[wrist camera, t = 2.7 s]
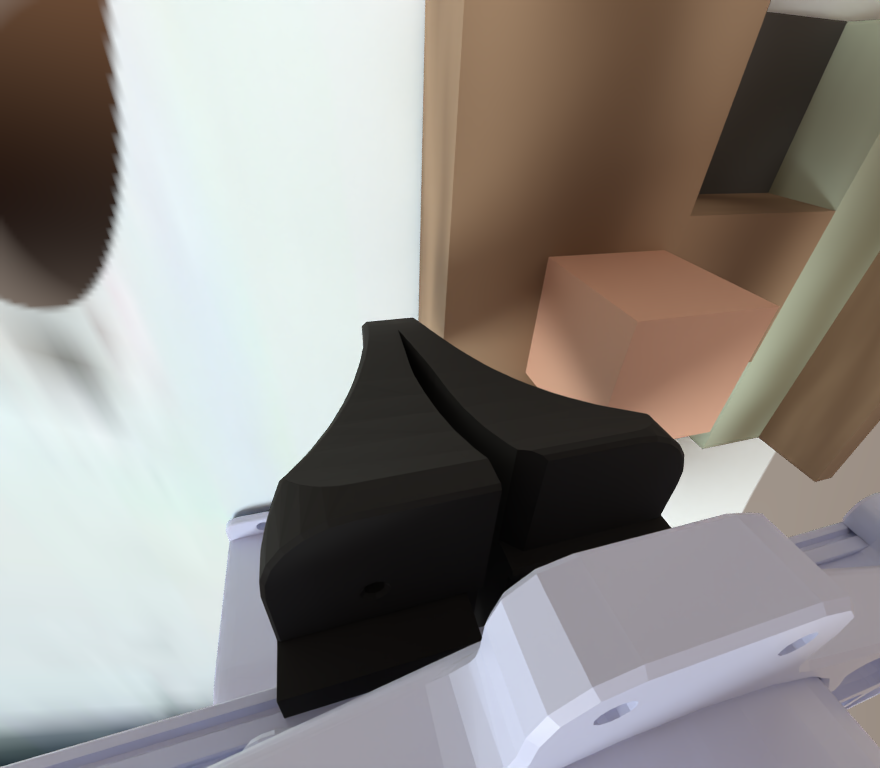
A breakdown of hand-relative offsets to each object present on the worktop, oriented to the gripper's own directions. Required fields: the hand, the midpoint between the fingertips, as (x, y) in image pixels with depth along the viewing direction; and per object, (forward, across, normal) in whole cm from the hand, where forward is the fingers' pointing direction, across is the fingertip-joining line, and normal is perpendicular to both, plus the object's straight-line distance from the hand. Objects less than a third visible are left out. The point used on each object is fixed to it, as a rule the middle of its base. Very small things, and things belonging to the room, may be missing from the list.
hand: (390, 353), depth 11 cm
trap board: (+4, -11, 0) cm, 12 cm away
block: (+1, -7, 0) cm, 7 cm away
